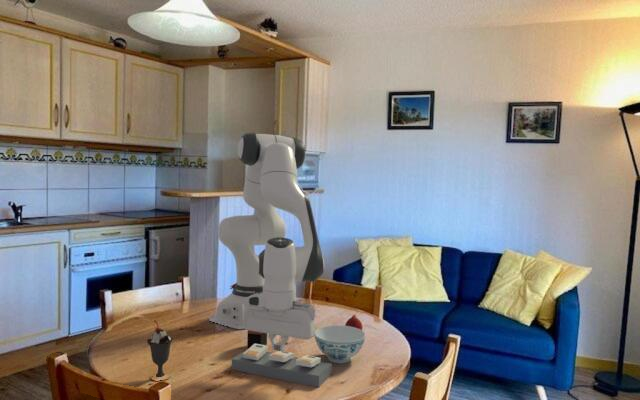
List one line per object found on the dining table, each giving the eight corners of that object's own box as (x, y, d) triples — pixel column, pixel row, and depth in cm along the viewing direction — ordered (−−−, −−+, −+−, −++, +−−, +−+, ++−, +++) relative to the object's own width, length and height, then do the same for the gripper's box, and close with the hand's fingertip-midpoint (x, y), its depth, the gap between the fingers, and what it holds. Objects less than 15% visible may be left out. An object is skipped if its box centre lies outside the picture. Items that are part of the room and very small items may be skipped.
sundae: (150, 372, 132) (150, 317, 131) (175, 372, 132) (176, 317, 131) (143, 383, 125) (143, 325, 124) (170, 382, 126) (170, 325, 125)
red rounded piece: (361, 342, 159) (361, 317, 159) (343, 340, 161) (344, 316, 160) (363, 336, 165) (363, 312, 165) (346, 334, 166) (346, 311, 166)
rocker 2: (268, 361, 132) (269, 354, 132) (279, 356, 138) (280, 349, 138) (283, 364, 130) (283, 357, 130) (293, 359, 136) (294, 352, 136)
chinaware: (329, 346, 155) (330, 322, 154) (373, 356, 147) (373, 331, 147) (304, 361, 142) (304, 335, 141) (350, 373, 134) (351, 345, 134)
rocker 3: (295, 366, 129) (296, 359, 129) (305, 361, 134) (306, 354, 135) (311, 369, 127) (311, 362, 127) (320, 364, 133) (320, 357, 133)
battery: (246, 351, 149) (247, 319, 148) (254, 343, 155) (254, 312, 155) (260, 352, 148) (261, 320, 147) (267, 345, 155) (267, 314, 154)
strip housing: (231, 369, 135) (231, 359, 135) (248, 358, 143) (248, 348, 143) (318, 387, 125) (319, 375, 125) (331, 374, 133) (331, 363, 133)
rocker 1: (243, 359, 135) (242, 353, 135) (255, 348, 141) (254, 342, 140) (257, 362, 133) (256, 355, 133) (268, 351, 139) (268, 345, 139)
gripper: (319, 301, 130) (318, 352, 130) (252, 292, 137) (251, 341, 138) (310, 306, 124) (309, 360, 125) (240, 297, 132) (239, 348, 132)
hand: (278, 350), depth 131 cm, fingers closed
